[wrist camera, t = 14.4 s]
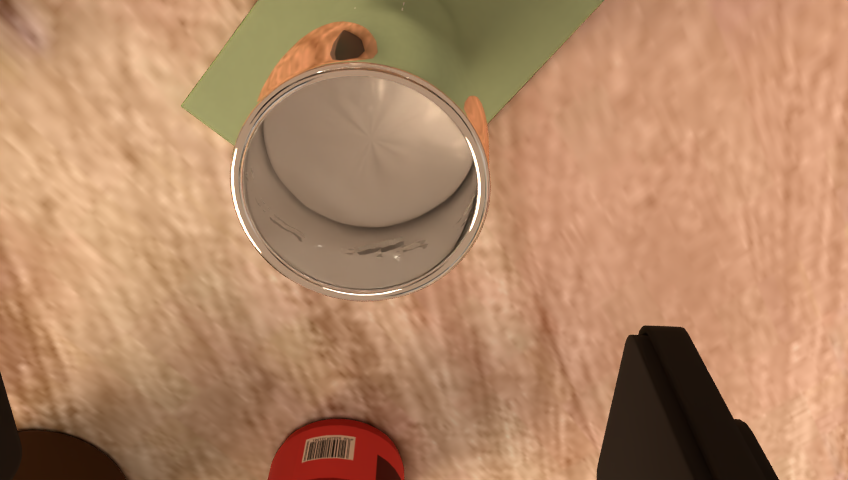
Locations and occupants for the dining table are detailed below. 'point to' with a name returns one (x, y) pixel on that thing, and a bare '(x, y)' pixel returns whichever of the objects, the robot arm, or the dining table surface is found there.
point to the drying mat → (477, 43)
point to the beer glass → (366, 153)
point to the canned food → (337, 453)
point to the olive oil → (62, 459)
